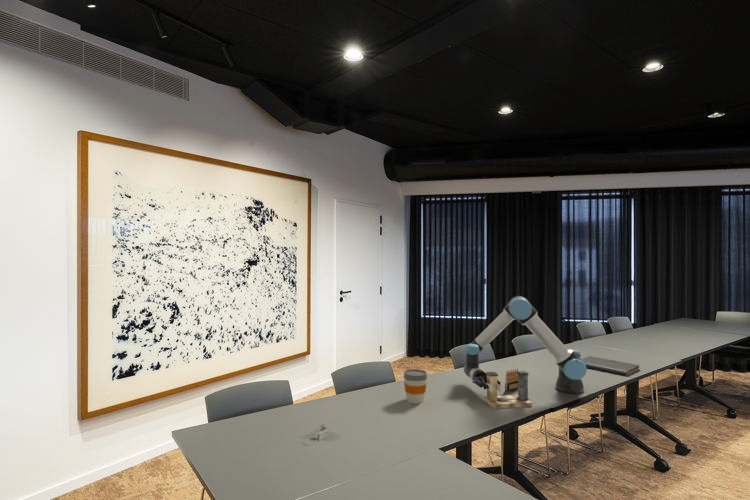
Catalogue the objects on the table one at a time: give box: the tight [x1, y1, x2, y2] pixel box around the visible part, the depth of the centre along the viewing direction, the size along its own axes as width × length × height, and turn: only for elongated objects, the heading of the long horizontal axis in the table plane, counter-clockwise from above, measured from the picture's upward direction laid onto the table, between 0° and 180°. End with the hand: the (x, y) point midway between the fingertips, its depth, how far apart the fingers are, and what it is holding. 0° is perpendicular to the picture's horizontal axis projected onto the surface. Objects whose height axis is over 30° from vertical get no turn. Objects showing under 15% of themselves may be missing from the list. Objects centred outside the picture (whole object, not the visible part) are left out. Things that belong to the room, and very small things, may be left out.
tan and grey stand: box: [483, 370, 533, 409], centre depth 222 cm, size 22×12×16 cm, turn 98°
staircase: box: [309, 422, 329, 441], centre depth 179 cm, size 6×4×6 cm, turn 141°
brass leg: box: [485, 371, 499, 401], centre depth 220 cm, size 5×5×14 cm
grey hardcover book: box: [581, 355, 640, 377], centre depth 292 cm, size 33×4×24 cm
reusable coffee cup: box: [403, 368, 428, 404], centre depth 226 cm, size 12×12×15 cm
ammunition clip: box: [504, 368, 519, 393], centre depth 243 cm, size 11×2×12 cm, turn 123°
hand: (496, 389), depth 215 cm, fingers closed on brass leg, 4 cm apart
